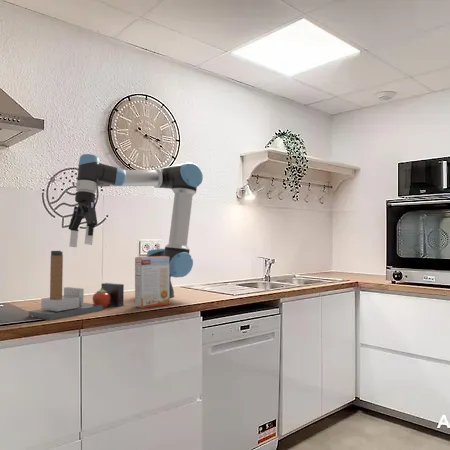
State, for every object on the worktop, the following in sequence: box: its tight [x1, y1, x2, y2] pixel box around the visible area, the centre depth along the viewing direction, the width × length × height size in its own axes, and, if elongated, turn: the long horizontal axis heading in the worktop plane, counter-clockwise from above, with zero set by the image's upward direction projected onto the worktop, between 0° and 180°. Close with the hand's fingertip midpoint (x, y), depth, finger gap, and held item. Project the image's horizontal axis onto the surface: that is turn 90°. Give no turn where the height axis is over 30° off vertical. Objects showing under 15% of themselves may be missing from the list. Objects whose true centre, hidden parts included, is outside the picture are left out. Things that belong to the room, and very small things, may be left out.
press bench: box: [28, 282, 125, 321], centre depth 172 cm, size 37×12×9 cm, turn 149°
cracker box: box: [134, 256, 170, 309], centre depth 185 cm, size 14×6×21 cm, turn 131°
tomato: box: [91, 288, 111, 309], centre depth 181 cm, size 7×7×8 cm
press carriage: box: [40, 250, 85, 311], centre depth 164 cm, size 12×9×22 cm
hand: (80, 245), depth 170 cm, fingers open, 13 cm apart
